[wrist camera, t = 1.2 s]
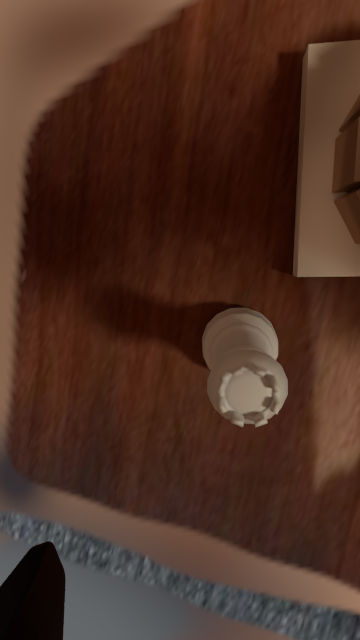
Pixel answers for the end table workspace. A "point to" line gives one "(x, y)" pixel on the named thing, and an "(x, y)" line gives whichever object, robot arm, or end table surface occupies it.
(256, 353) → the rook chess piece
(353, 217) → the ring board
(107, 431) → the end table surface
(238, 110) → the end table surface
